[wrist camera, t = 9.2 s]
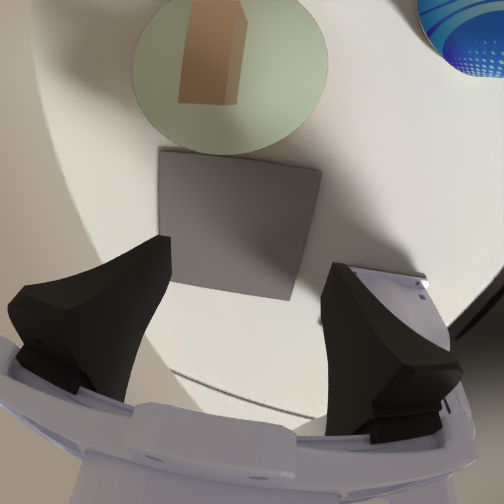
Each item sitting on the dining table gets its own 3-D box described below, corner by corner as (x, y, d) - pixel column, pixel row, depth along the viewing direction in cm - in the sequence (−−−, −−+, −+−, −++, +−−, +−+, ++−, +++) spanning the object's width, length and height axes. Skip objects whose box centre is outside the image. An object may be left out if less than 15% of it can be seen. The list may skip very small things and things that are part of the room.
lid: (336, -4, 9) (353, -31, 6) (309, 166, 15) (318, 188, 12) (149, -11, 9) (116, -31, 6) (131, 147, 15) (94, 164, 12)
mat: (320, 171, 19) (321, 173, 19) (289, 297, 25) (289, 300, 25) (162, 150, 19) (159, 151, 19) (164, 276, 26) (162, 279, 25)
